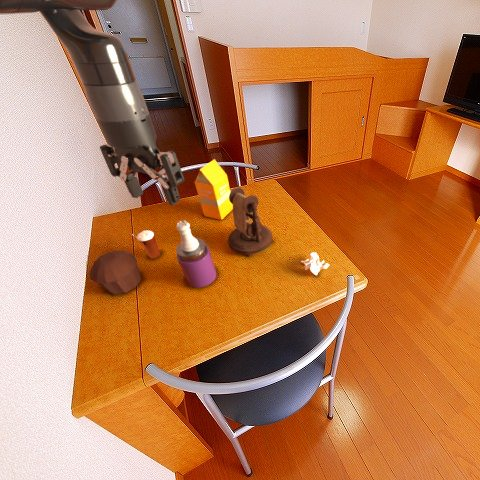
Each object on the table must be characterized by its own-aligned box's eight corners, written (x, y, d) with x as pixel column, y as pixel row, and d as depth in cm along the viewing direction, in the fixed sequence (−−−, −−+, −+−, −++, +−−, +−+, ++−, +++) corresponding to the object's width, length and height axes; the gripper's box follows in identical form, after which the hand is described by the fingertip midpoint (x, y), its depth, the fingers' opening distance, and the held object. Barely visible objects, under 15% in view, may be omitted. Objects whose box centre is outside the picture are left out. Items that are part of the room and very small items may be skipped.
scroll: (220, 243, 94) (206, 192, 81) (254, 224, 103) (246, 175, 90) (247, 264, 87) (237, 212, 74) (281, 241, 96) (277, 191, 83)
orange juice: (204, 216, 105) (189, 167, 92) (217, 204, 112) (205, 157, 99) (222, 220, 104) (209, 171, 91) (234, 207, 110) (224, 160, 97)
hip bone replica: (331, 261, 83) (314, 269, 80) (329, 271, 86) (312, 280, 82) (315, 247, 88) (298, 254, 84) (314, 257, 91) (297, 264, 87)
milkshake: (144, 253, 89) (131, 228, 83) (162, 248, 91) (151, 224, 84) (144, 262, 86) (130, 237, 80) (162, 257, 88) (151, 233, 81)
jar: (206, 290, 78) (195, 262, 71) (180, 284, 80) (167, 255, 72) (222, 270, 85) (213, 241, 77) (198, 264, 86) (187, 236, 79)
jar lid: (196, 264, 72) (194, 259, 71) (171, 258, 74) (169, 253, 72) (212, 246, 78) (210, 240, 76) (189, 240, 79) (187, 235, 78)
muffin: (109, 271, 83) (92, 246, 76) (149, 265, 85) (136, 241, 79) (95, 302, 74) (74, 277, 68) (140, 295, 76) (124, 270, 70)
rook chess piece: (183, 254, 72) (173, 230, 67) (180, 244, 75) (171, 221, 70) (201, 249, 74) (192, 225, 69) (197, 239, 77) (189, 216, 71)
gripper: (65, 114, 43) (111, 203, 53) (142, 124, 41) (175, 215, 51) (105, 103, 49) (140, 185, 59) (175, 111, 46) (199, 196, 56)
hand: (156, 199), depth 55 cm, fingers open, 8 cm apart
